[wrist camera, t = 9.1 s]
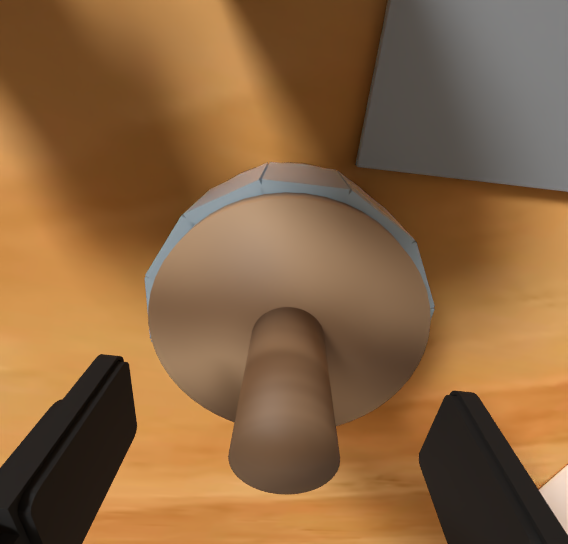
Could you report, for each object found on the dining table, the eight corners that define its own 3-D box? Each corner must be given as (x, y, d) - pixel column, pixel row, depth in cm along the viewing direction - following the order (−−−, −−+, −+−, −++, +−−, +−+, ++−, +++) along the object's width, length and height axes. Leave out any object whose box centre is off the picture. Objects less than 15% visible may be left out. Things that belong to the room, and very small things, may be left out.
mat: (706, -58, 12) (727, -66, 11) (580, 191, 16) (590, 194, 15) (407, -99, 12) (412, -109, 11) (355, 164, 16) (357, 166, 15)
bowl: (422, 177, 16) (473, 203, 11) (368, 362, 21) (389, 431, 16) (180, 148, 15) (134, 164, 11) (186, 343, 21) (156, 408, 16)
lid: (384, 423, 16) (430, 581, 11) (165, 402, 16) (98, 551, 10) (460, 210, 11) (610, 300, 6) (147, 175, 11) (9, 235, 6)
